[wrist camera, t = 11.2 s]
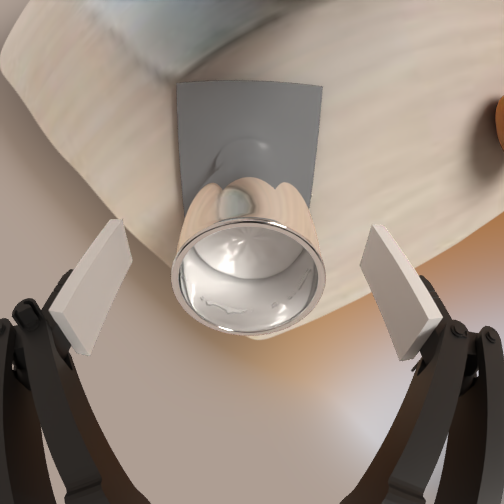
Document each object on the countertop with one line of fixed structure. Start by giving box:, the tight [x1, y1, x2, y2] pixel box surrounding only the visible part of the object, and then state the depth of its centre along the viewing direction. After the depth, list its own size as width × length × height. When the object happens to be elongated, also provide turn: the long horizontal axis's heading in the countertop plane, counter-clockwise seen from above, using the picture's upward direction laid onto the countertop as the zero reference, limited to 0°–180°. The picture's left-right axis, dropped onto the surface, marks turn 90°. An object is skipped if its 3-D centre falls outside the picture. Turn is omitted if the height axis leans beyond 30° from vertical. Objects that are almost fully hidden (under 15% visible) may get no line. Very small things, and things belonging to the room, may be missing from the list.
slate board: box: [177, 80, 323, 217], centre depth 24 cm, size 16×12×1 cm
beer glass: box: [171, 138, 326, 336], centre depth 18 cm, size 7×7×15 cm
